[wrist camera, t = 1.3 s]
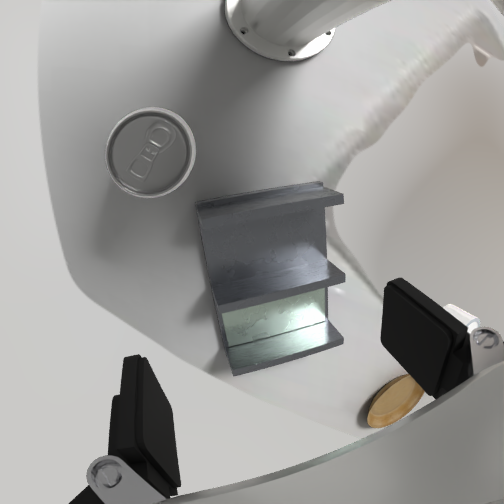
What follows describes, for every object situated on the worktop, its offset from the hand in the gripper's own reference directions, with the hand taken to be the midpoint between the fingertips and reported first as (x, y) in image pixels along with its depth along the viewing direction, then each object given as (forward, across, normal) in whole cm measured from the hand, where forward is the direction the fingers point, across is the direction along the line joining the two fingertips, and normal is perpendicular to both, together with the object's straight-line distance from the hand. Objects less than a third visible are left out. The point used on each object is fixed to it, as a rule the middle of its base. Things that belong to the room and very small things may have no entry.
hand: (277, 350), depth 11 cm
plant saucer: (+24, -27, +45) cm, 57 cm away
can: (+24, +4, -7) cm, 25 cm away
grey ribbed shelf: (+24, -6, +10) cm, 26 cm away
